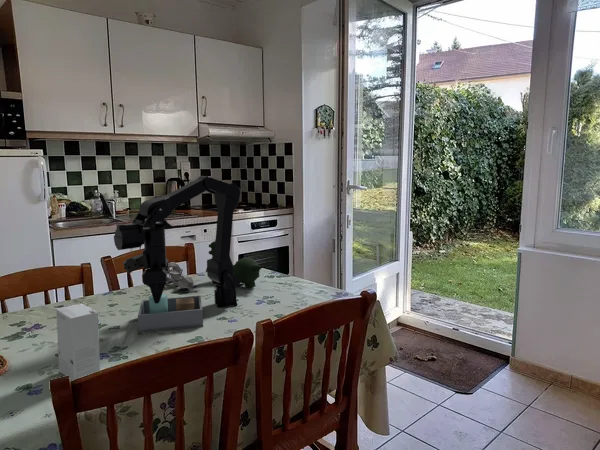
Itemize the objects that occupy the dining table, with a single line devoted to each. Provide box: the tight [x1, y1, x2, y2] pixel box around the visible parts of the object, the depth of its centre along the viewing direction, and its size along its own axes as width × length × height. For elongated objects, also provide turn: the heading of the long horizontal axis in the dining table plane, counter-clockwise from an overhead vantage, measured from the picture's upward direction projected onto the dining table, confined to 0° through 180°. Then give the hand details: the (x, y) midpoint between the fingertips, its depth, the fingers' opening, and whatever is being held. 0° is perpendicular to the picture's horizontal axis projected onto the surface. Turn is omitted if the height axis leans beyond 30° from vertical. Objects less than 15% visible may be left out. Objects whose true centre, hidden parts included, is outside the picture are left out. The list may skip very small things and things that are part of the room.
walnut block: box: [176, 298, 194, 311], centre depth 127 cm, size 5×5×5 cm
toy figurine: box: [208, 238, 263, 290], centre depth 161 cm, size 10×19×26 cm
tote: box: [137, 295, 204, 334], centre depth 126 cm, size 17×13×5 cm
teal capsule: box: [148, 293, 168, 314], centre depth 125 cm, size 5×5×7 cm
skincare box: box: [55, 302, 101, 381], centre depth 94 cm, size 8×6×15 cm
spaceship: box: [165, 262, 195, 290], centre depth 166 cm, size 8×35×8 cm
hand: (157, 298), depth 124 cm, fingers open, 9 cm apart
